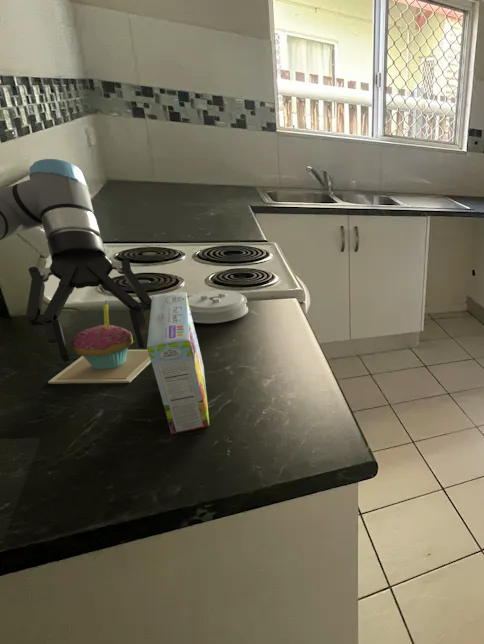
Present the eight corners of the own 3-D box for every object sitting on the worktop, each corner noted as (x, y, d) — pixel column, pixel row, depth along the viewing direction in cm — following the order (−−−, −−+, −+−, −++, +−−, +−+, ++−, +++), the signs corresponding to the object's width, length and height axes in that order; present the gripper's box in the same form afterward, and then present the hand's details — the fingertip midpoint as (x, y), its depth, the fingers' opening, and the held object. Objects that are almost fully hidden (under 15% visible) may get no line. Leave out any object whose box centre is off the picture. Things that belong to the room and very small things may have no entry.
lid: (180, 311, 110) (176, 291, 107) (241, 302, 117) (238, 283, 115) (191, 331, 101) (186, 309, 99) (255, 320, 109) (252, 300, 107)
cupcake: (135, 349, 91) (120, 290, 86) (140, 368, 85) (124, 306, 80) (77, 359, 86) (57, 297, 81) (77, 380, 80) (56, 314, 75)
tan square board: (48, 383, 79) (47, 381, 79) (91, 351, 90) (90, 348, 90) (129, 382, 82) (129, 380, 82) (162, 351, 92) (161, 349, 92)
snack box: (168, 371, 86) (150, 294, 80) (204, 366, 89) (189, 290, 83) (168, 436, 70) (144, 346, 64) (212, 427, 73) (193, 339, 67)
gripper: (150, 245, 96) (180, 345, 92) (-6, 256, 82) (21, 374, 78) (148, 224, 90) (180, 330, 86) (-21, 232, 76) (8, 359, 72)
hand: (104, 351), depth 82 cm, fingers open, 9 cm apart
